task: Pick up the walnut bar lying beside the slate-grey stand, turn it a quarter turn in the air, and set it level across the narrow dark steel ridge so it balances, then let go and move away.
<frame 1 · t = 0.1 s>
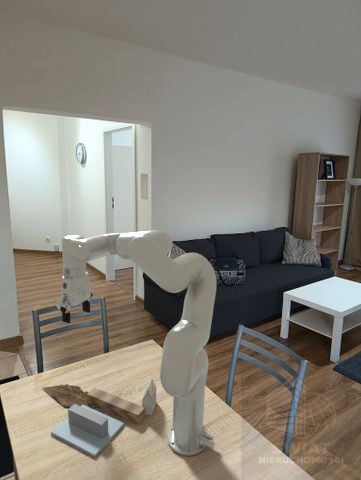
hand: (76, 316, 117), 31 cm above the table, tool pointing down, fingers open, 9 cm apart
grey pointed block: (149, 408, 117), on the table
wooden fragment: (70, 397, 122), on the table, touching walnut bar
ridge stand: (88, 429, 106), on the table
walnut bar: (115, 410, 115), on the table, touching wooden fragment
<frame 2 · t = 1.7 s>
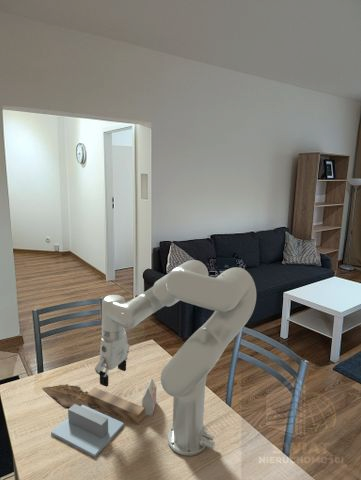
hand: (113, 377, 113), 13 cm above the table, tool pointing down, fingers open, 9 cm apart
wooden fragment: (70, 397, 122), on the table
walnut bar: (115, 410, 115), on the table
everything else where it was.
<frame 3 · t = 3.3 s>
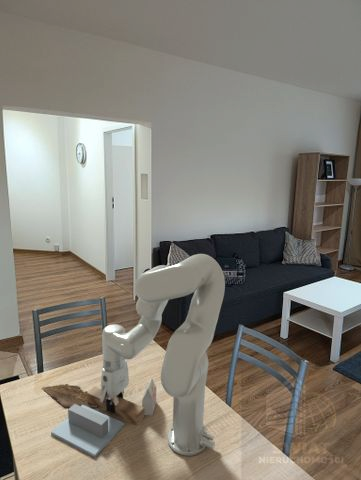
hand: (115, 407, 115), 1 cm above the table, tool pointing down, fingers closed on walnut bar, 4 cm apart
walnut bar: (114, 409, 115), on the table, touching gripper
everything else where it was.
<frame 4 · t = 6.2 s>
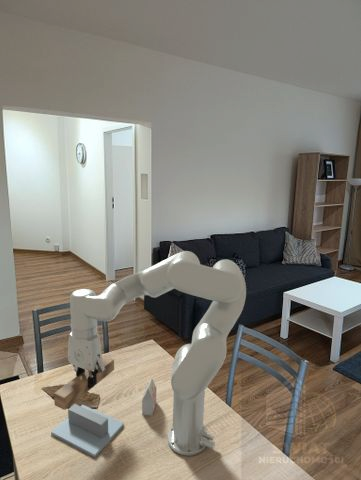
hand: (86, 383, 103), 17 cm above the table, tool pointing down, fingers closed on walnut bar, 4 cm apart
walnut bar: (87, 386, 103), point 16 cm above the table, touching gripper
everything else where it was.
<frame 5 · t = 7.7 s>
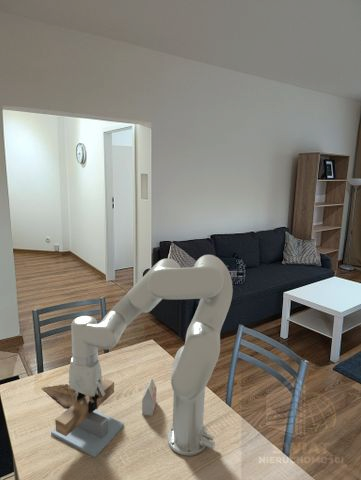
hand: (87, 407, 104), 8 cm above the table, tool pointing down, fingers closed on walnut bar, 4 cm apart
walnut bar: (87, 410, 105), point 7 cm above the table, touching gripper
everything else where it was.
when the fingers open (8 cm above the table, at t = 9.0 s): walnut bar stays where it is, resting on ridge stand.
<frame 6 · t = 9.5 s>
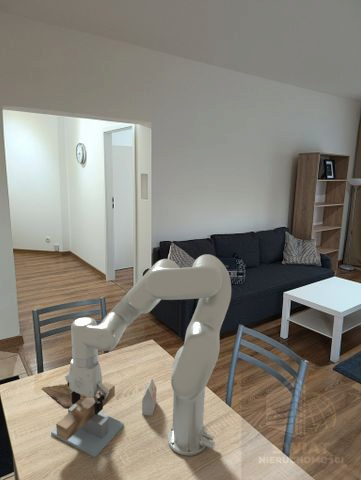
hand: (87, 406, 104), 9 cm above the table, tool pointing down, fingers open, 9 cm apart
walnut bar: (88, 413, 105), point 6 cm above the table, touching ridge stand
everything else where it was.
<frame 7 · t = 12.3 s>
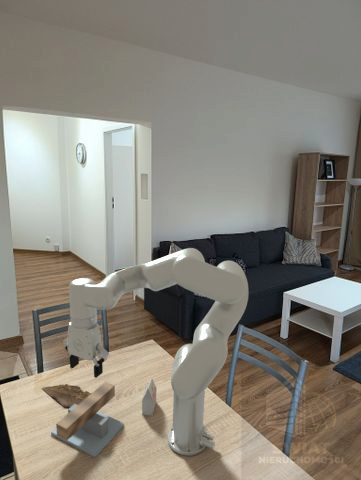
hand: (86, 370, 102), 22 cm above the table, tool pointing down, fingers open, 9 cm apart
nothing on the table moved.
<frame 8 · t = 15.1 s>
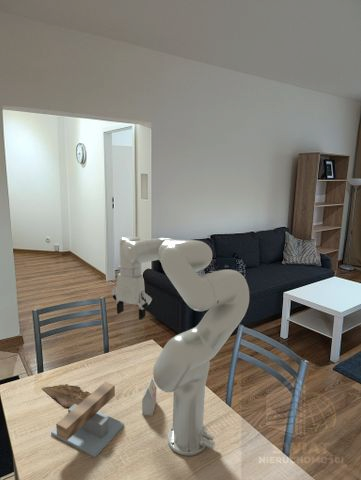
hand: (131, 315, 121), 30 cm above the table, tool pointing down, fingers open, 9 cm apart
nothing on the table moved.
at the end: walnut bar 0.2 cm off-centre on the ridge stand, point 6.0 cm above the ridge stand's base; walnut bar tilted 0°; the gripper is holding nothing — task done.
